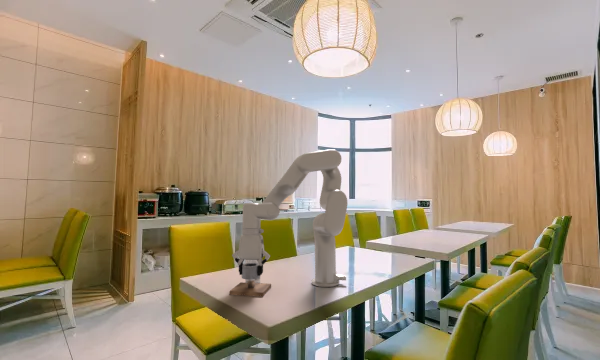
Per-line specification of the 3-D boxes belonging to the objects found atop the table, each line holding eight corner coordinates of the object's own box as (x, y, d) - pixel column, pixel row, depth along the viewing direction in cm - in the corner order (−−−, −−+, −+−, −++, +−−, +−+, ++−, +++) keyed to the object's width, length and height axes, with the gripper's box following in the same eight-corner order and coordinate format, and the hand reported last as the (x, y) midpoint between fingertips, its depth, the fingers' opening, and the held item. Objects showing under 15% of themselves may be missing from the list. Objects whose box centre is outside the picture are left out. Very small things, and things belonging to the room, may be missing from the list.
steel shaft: (255, 286, 118) (255, 269, 119) (253, 288, 115) (253, 271, 116) (248, 285, 119) (249, 269, 119) (246, 288, 116) (246, 270, 116)
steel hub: (261, 274, 120) (262, 263, 121) (256, 279, 113) (256, 267, 113) (245, 274, 122) (245, 262, 122) (239, 279, 114) (239, 266, 115)
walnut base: (271, 287, 122) (271, 283, 122) (263, 296, 110) (263, 292, 110) (240, 285, 124) (240, 282, 124) (229, 294, 112) (229, 290, 112)
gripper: (273, 231, 121) (273, 273, 120) (235, 230, 124) (234, 271, 122) (268, 233, 114) (268, 277, 112) (228, 232, 116) (227, 276, 115)
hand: (250, 274), depth 117 cm, fingers closed on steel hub, 7 cm apart
